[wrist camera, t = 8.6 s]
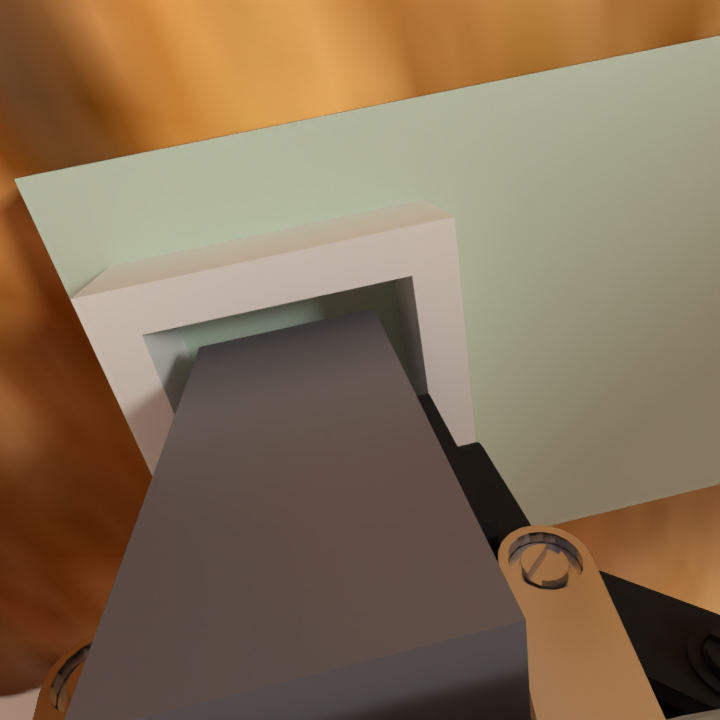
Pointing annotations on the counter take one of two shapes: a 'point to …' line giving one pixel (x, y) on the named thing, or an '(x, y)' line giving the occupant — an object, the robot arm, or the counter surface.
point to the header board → (442, 265)
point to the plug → (305, 553)
